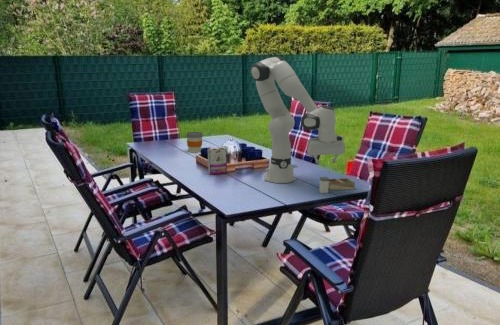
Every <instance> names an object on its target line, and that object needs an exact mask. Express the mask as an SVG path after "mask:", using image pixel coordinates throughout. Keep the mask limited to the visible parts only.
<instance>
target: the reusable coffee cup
mask: <svg viewBox="0 0 500 325" xmlns="http://www.w3.org/2000/svg"><path fill="white" fill-rule="evenodd" d="M185 136H186V145H187V149H188V153H189V152H190V153H189V154H199V153H198V152H200V150H201V151H202V146H203V137H204V136H203V132H201V131H189V132H186V135H185ZM200 153H201V152H200Z"/></svg>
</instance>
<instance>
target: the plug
mask: <svg viewBox="0 0 500 325" xmlns="http://www.w3.org/2000/svg"><path fill="white" fill-rule="evenodd" d="M329 179H330V178H329V177H327V176H320V177H319V193H321V194H329V189H328V184H329Z"/></svg>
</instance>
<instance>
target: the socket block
mask: <svg viewBox="0 0 500 325" xmlns="http://www.w3.org/2000/svg"><path fill="white" fill-rule="evenodd" d="M355 184H356V183H355V181H353V180H352V179H350V178H349V177H345V178H340V177H339V178H329V184H328V190H329V191H342V190H343V191H345V190H355V188H356V187H355Z"/></svg>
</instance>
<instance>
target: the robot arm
mask: <svg viewBox="0 0 500 325" xmlns="http://www.w3.org/2000/svg"><path fill="white" fill-rule="evenodd" d="M250 74H251V77H252V79H253V80H254V81H255V86H256V90H257V92H258V96H259V98H260V101H261V103H262V105H263V108H264V110H265V111H266V113H268V114H269V117H270V118H271V119H270V122H268V131H269V134H270V139H271V156H270V164H269V165H268V167H266V168H265V173H264V174H263V176H264V181H265V182H269V183H270V182H271V183H275V184H288V183H291V182H293V181H296V180H297V178H296V177H294V176H295V175H294V166H293V165H292V157H291V156H292V153H291V149H292V143H291V141H290V140H291V139H290V132H291V131H292V130H293V129H294V128H295V124H296V121H295V118H294V117H293V116H292V114H291V113H290V111H289V110H288V108H287V107H286V105H285V104H284V101H283V99H282V97H281V94H280V92H279V89H278V87H279V88H280V90H281V92H282V93H283V94H285V96H287V97H290V98H293V99H296V100H297V101H298V102H300V103H301V105H302V107H303V108H304V109H305V111H306V112H307V113H304V114H303V115H302V116H301V119H300V124H301V126H302V128H303V129H304V130H306V131H314V130H317V131H318V133H317V137H311V138H309V139H307V150H306V151H307V152H306V153H307V155H308V156H313V158H314V160H315V164H320V159H318V156H328V155H329V156H330V155H332V156H333V155H334V156H333V158H332V159H331V160H332V163H337V159H338V158H339V155H344V154H345V152H346V143H345V142H344V139H345V136H342V135H339V134H337V133H336V130H335V129H336V128H335V126H336V120H337V119H336V111H335V109H334V108H333V107H331V106H326V105H320V106H318V104H317V103H316V102H315V101H314V99H313V98H312V96H311V95H310V93H309V92H308V91H307V90H306V88H305V86H304V85H303V84H302V82H301V80H300V78H299V77H298V75H297V74H296V71H294V68H292V67H291V65H290V64H289V63H288V62H287V61H286V60H285V59H284V58H283V57H282V56H272V57H267V58H265V59H262V60H260V61H257V62H255V63H253V64H252V65H251V67H250ZM275 81H276V82H275ZM276 83H277V85H278V87H277V86H276Z"/></svg>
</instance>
